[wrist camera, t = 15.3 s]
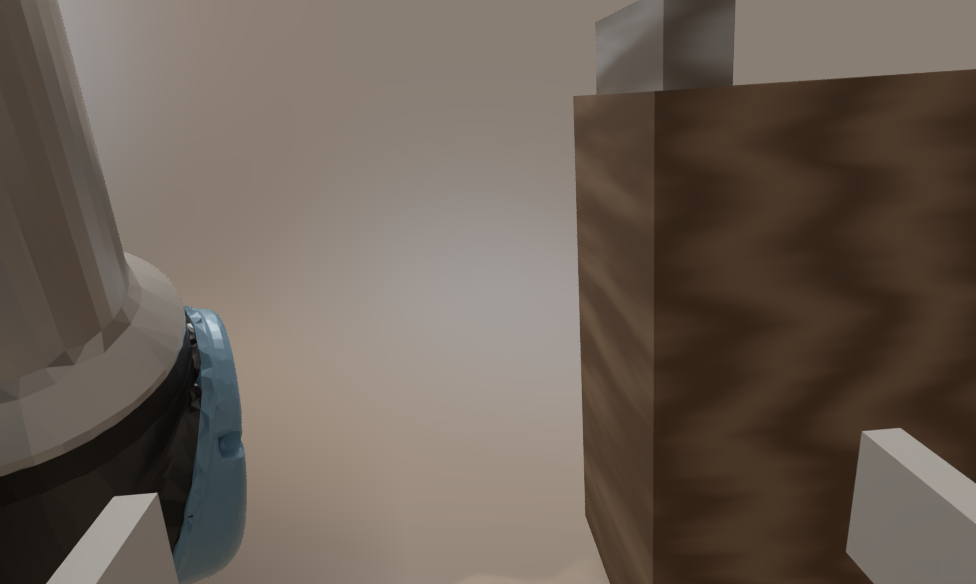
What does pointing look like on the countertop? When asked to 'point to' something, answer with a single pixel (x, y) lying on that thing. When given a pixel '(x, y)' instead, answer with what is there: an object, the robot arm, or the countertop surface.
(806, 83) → the brown wooden tall block
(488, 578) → the countertop surface
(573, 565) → the countertop surface
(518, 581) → the countertop surface
